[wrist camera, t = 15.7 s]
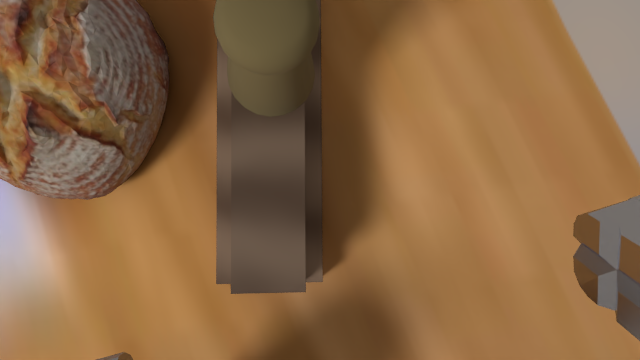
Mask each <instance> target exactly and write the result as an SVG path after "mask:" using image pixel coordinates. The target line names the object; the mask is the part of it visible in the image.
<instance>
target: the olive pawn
mask: <svg viewBox="0 0 640 360" xmlns="http://www.w3.org/2000/svg"><path fill="white" fill-rule="evenodd" d="M213 20H214V28H215V34H216V36H217V38H218V41H219V43H220V45H221V47H222V49H223V51H224V53H225V54H226V55H227V56H228V61H227V76H228V83H229V87H230V89H231V91H232V93H233V95H234V97H235V98H236V99H237V100H238V101H239V102H240V104H241V105H242V106H243V107H244V108H246V109H248V110H250V111H252V112H253V113H255V114H258V115H264V116H269V117H273V116H281V115H285V114H287V113H290V112H292V111H294V110H296V109H297V108H298V107H299V106H300V105H302V104H303V103H304V102H305V101H306V100H307V98H308V96H309V94H310V92H311V90H312V89H313V84H314V78H315V71H314V64H313V59H312V54H311V51H312V49H313V47H314V45H315V44H316V41H317V37H318V32H319V26H320V17H319V10H318V5H317V3H316V1H315V0H216V5H215V10H214V15H213Z"/></svg>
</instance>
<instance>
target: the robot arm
mask: <svg viewBox="0 0 640 360" xmlns="http://www.w3.org/2000/svg"><path fill="white" fill-rule="evenodd" d="M573 236H574V237H575V238H576V239H577V240H578V241H579V242H580V243H581V245H580V246H579V248H578V250H577V251H576V253H575V255H574V256H573V259H574V273H575V275H576V278H577V280H578V283H579V285H580V287H581V288H582V289H583V291H584V292H585V293H586V295H587V296H588V297H589V298H590V299H591V300H593V301H594V302H595V303H596V304H597V305H599V306H602V307H606V308H609V309H612V310H615V313H616V320H617V322H618V323H619V324H620V325H622V326H623V327H624V328H625V329H626V330H628V331H629V332H630V333H631V334H632V335H633V336H635V337H636V338H637V339H638V340H639V341H640V195H639V196H636V197H633V198H630V199H628V200H627V201H623V202H620V203H617V204H614V205H610V206H607V207H604V208H601V209H597V210H594V211H591V212H588V213H584V214H581V215H578V216H577V217H576V220H575V222H574V233H573ZM97 360H133V358H132V357H131V355H130V354H128V353H125V352H122V353H119V354H115V355H111V356H108V357H104V358H101V359H97Z"/></svg>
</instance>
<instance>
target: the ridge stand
mask: <svg viewBox="0 0 640 360" xmlns="http://www.w3.org/2000/svg"><path fill="white" fill-rule="evenodd" d="M315 1H316V3H317V5H318V10H319V17H320V26H319V32H318V37H317V41H316V44H315V45H314V47H313V49H312V51H311V54H312V59H313V64H314V71H315V78H314V84H313V89H312V90H311V92H310V94H309V96H308V98H307V100H306V101H305V102H304V103H303V104H302V105H300V106H299V107H298V108H297V109H296V110H294V111H292V112H290V113H287V114H285V115H281V116H273V117H269V116H264V115H258V114H255V113H253V112H252V111H250V110H248V109H246V108H244V107H243V106H242V105H241V104H240V102H239V101H238V100H237V99H236V98H235V97H234V95H233V93H232V91H231V89H230V87H229V83H228V76H227V61H228V56H227V55H226V54H225V53H224V51H223V49H222V47H221V45H220V43H219V41H218V38H217V267H216V284H231V294H240V293H285V292H306V282H323V268H322V132H321V0H315Z"/></svg>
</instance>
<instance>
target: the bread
mask: <svg viewBox="0 0 640 360" xmlns="http://www.w3.org/2000/svg"><path fill="white" fill-rule="evenodd" d="M168 62H169V57H168V53H167V50H166V46H165V44H164V42H163V40H162V39H161V38H160V37H159V35H158V34H157V32H156V30H155V29H154V27H153V24H152V22H151V20H150V17H149V15H148V13H147V12H146V11H145V10H144V9H143V8H142V7H141V5H140V4H139V3H138V2H137V1H136V0H0V179H2V180H4V181H6V182H8V183H10V184H12V185H13V186H15V187H18V188H21V189H24V190H27V191H30V192H34V193H35V194H37V195H44V196H47V197H51V198H61V199H65V198H68V199H76V198H78V199H87V200H88V199H92V198H96V197H102V196H105V195H107V194H109V193H111V192H112V191H113V190H115V189H116V188H117V187H118V186H120V185H121V184H122V183H123V182H124V181H125V180H126V179H128V178H129V177H130V176H131V175H132V174H133V173H134V172H135V171H136V170H137V169H138V168H139V166H140V165H141V163H142V161H143V160H144V158H145V156H146V155H147V153H148V152H149V150H150V147H151V146H152V144H153V143H154V141H155V139H156V136H157V133H158V131H159V128H160V125H161V123H162V118H163V114H164V112H165V107H166V102H167V98H168V88H169V71H168Z"/></svg>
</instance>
